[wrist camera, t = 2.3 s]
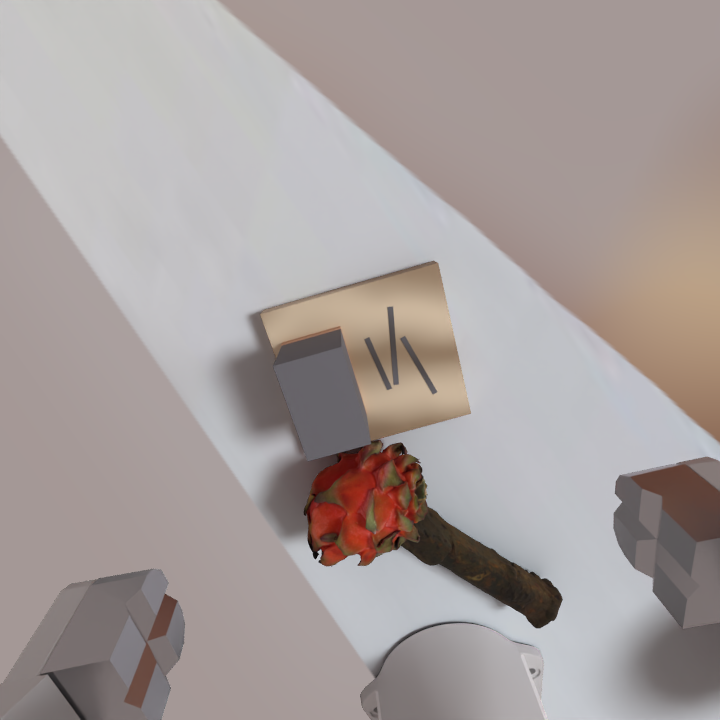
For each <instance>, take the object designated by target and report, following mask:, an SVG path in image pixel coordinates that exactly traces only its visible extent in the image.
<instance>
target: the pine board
mask: <svg viewBox="0 0 720 720" xmlns="http://www.w3.org/2000/svg"><path fill="white" fill-rule="evenodd" d="M260 315H261V318H262V321H263V324H264V327H265V329H266V332H267V335H268V338H269V340H270V343H271V346H272V349H273V352H274V354H275V357H276V358H277V356H278V353H279V351H280V348H281V344H282V342H286V341H289V340H293V339H296V338H300V337H303V336H307V335H310V334H314V333H317V332H321V331H324V330H328V329H331V328H335V327H338V326H340V327H341V330H342V333H343V337H344V340H345V343H346V346H347V350H348V353H349V356H350V360H351V363H352V366H353V370H354V373H355V376H356V380H357V383H358V386H359V389H360V393H361V396H362V399H363V403H364V406H365V409H366V413H367V420H368V426H369V433H370V439H371V441H373V440H376V439H380V438H384V437H387V436H391V435H394V434H398V433H402V432H405V431H409V430H413V429H416V428H420V427H424V426H427V425H431V424H435V423H438V422H442V421H445V420H449V419H453V418H456V417H460V416H464V415H467V414H471V411H470V407H469V402H468V398H467V393H466V388H465V384H464V379H463V375H462V370H461V366H460V361H459V356H458V352H457V347H456V343H455V338H454V334H453V329H452V324H451V320H450V315H449V311H448V306H447V301H446V297H445V292H444V288H443V283H442V279H441V274H440V269H439V265H438V263H437V262H435V261H431V262H428V263H425V264H421V265H418V266H414V267H411V268H407V269H404V270H400V271H397V272H393V273H390V274H386V275H383V276H380V277H376V278H373V279H369V280H366V281H362V282H359V283H355V284H352V285H348V286H345V287H341V288H338V289H335V290H331V291H328V292H324V293H321V294H317V295H314V296H310V297H307V298H303V299H300V300H296V301H293V302H289V303H286V304H283V305H279V306H276V307H272V308H269V309H265V310H263V311H262V313H261V314H260Z"/></svg>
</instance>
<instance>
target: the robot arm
mask: <svg viewBox="0 0 720 720" xmlns="http://www.w3.org/2000/svg"><path fill="white" fill-rule="evenodd" d="M615 494H616V495H617V496H618V498H619V499H620V500H621V501H622V503H621V505H620V506H619V507H618V508H617V510H616V511H615V512H614V531H615V535H616V538H617V541H618V544H619V546H620V548H621V550H622V551H623V553H624V555H625V557H626V558H627V559H628V561H629V562H630V563H631V564H632V566H633V567H634V568H635V569H636V570H638V571H640V572H642V573H644V574H646V575H648V576H650V577H652V578H653V592H654V594H655V595H656V596H657V597H658V599H659V600H660V601H661V602H662V604H663V605H664V606H665V607H666V609H667V610H668V611H669V612H670V614H671V615H672V616H673V617H674V619H675V620H676V621H677V622H678V624H679V625H680V626H681V627H682V629H685V628H691V627H697V626H703V625H709V624H715V623H720V462H719V461H718V460H716V459H713V458H710V457H703V458H698V459H693V460H689V461H684V462H679V463H677V464H671V465H666V466H661V467H656V468H652V469H647V470H642V471H637V472H633V473H628V474H623V475H620V476H619V477H618V479H617V481H616V486H615ZM167 586H168V581H167V579H166V577H165V576H164V574H163V572H162V570H159V569H150V570H144V571H138V572H132V573H127V574H121V575H115V576H110V577H104V578H99V579H97V580H90V581H85V582H79V583H73V584H70V585H68V586H67V587H66V588H64V589H63V590H62V591H61V592H60V593H59V595H58V597H57V598H56V600H55V601H54V603H53V605H52V606H51V608H50V609H49V611H48V613H47V614H46V616H45V617H44V619H43V620H42V622H41V623H40V625H39V627H38V628H37V630H36V631H35V633H34V635H33V636H32V638H31V639H30V641H29V642H28V644H27V646H26V647H25V649H24V650H23V652H22V653H21V655H20V657H19V658H18V660H17V661H16V663H15V665H14V666H13V668H12V669H11V671H10V672H9V674H8V676H7V677H6V679H5V680H4V682H3V683H1V684H0V720H161V719H162V716H163V713H164V709H165V706H166V703H167V699H168V696H169V693H170V689H171V687H170V685H169V682H168V680H167V677H166V675H167V674H168V672H169V671H170V670H171V668H173V666H174V665H175V664H176V663H177V662H178V660H179V658H180V655H181V651H182V647H183V644H184V629H185V622H184V617H183V612H182V609H181V607H180V605H179V603H178V601H177V600H176V599H173V598H172V597H170V596H168V595H167V594H165V592H166V589H167ZM543 667H544V661H543V658H542V655H541V652H540V650H539V649H537V648H535V647H533V646H529V645H525V644H520V643H515V642H513V641H511V640H509V639H507V638H506V637H504V636H503V635H501V634H500V633H498V632H496V631H494V630H492V629H490V628H487V627H484V626H480V625H475V624H468V623H452V624H444V625H439V626H435V627H431V628H428V629H425V630H423V631H420V632H418V633H416V634H414V635H412V636H410V637H409V638H407V639H406V640H404V641H403V642H402V643H400V644H399V645H398V646H397V647H396V648H395V649H394V650H393V651H392V652H391V653H390V655H389V656H388V657H387V659H386V661H385V662H384V665H383V667H382V669H381V671H380V673H379V675H378V676H377V678H376V679H375V680H373V681H372V682H371V683H370V684H369V685H368V686H367V687H365V688H364V690H363V691H362V692H361V695H360V697H361V703H362V708H363V709H364V711H365V712H366V713H367V715H368V716H369V717H370V719H371V720H548V717H547V715H546V712H545V710H544V707H543V704H542V702H541V694H542V680H543Z"/></svg>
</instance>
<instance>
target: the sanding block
mask: <svg viewBox="0 0 720 720" xmlns="http://www.w3.org/2000/svg"><path fill="white" fill-rule="evenodd" d="M273 368H274V370H275V373H276V376H277V379H278V381H279V384H280V387H281V390H282V392H283V395H284V398H285V401H286V403H287V406H288V409H289V412H290V414H291V417H292V420H293V422H294V425H295V428H296V431H297V433H298V436H299V439H300V442H301V444H302V447H303V450H304V453H305V455H306V458H307V461H311V460H315V459H318V458H322V457H326V456H329V455H333V454H337V453H340V452H344V451H348V450H351V449H355V448H359V447H362V446H366V445H370V444H371V439H370V433H369V426H368V420H367V413H366V409H365V406H364V403H363V399H362V396H361V393H360V389H359V386H358V383H357V380H356V376H355V373H354V370H353V366H352V363H351V360H350V356H349V353H348V350H347V346H346V343H345V340H344V337H343V333H342V330H341V327H340V326H338V327H335V328H331V329H328V330H324V331H321V332H317V333H314V334H310V335H307V336H303V337H300V338H296V339H293V340H289V341H286V342H282V344H281V348H280V351H279V353H278V356H277V358H276V360H275V363H274V365H273Z"/></svg>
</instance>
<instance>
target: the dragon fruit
mask: <svg viewBox="0 0 720 720" xmlns="http://www.w3.org/2000/svg"><path fill="white" fill-rule="evenodd" d="M382 446H383V443H382V442H381V441H380V440H377V441H371V444H370V445H366V446H364V447H363V448H362V449H361V450H360V451H359V452H358V453H357V454H347V453H345V452H346V451H344V452H340V453H338V455H337V457H338V459H337V462H339V463H337V464H335V465H333V466H329V467H327V468H325V469H324V470H323V471H321V472H320V473H319V474H318V475H317V476H316V478H315V480H314V482H313V484H312V488H311V491H310V495H309V498H308V501H307V505H306V506H305V509H304V515H305V516H306V514H307V518H308V525H309V527H308V544H309V546H310V549H311V550H312V552H313V557H314V559H316V558H317V556H318V555H319V554H318V553H317V551H319V550H320V549H321V550H322V556H321V560H319V563H321V564H322V565H324V566H332V565H335V564H336V563H338V562H339V561H341V560H344V559H345V558H347V557H348V556H350V555H355V554H359V555H360V556H361V561H360V563H359V564H358V566H366V565H369V564H370V563H371V562H372V561H373V560H374V558H375V557H378V556H380V555H382V554H383V553H386V552H391V551H392V550H398V548H399V547H400V546H401V545H402V543H403V542H405V541H406V539H408V540H410V541H413V542H417V543H418V542H419V540H420V536H419V534H418V530H417V529H416V527H415V526H414V525H413V524H414V523H418V521H421V520H424V519H425V515H426V514H427V513H428V507H427V503H426V500H425V499H426V498H427V497H426V495H427V492H426V488H427V485H426V483H425V480H424V479H423V476H422V474H421V473H422V467H421V466H420V465H419V464H418V463H421V462H419V461H418V460H420V459H417V458H415V457H413V456H412V455H409V454H407V450H406V448H405V447H404V445H403V443H396V444H392V445H390V446H388V447H387V448H386V449H384V450H383V452H382V453H381V452H380V450H381V448H382ZM401 452H402V455H400V454H401ZM403 454H405V455H403ZM399 455H400V456H399ZM416 462H417V463H416Z"/></svg>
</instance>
